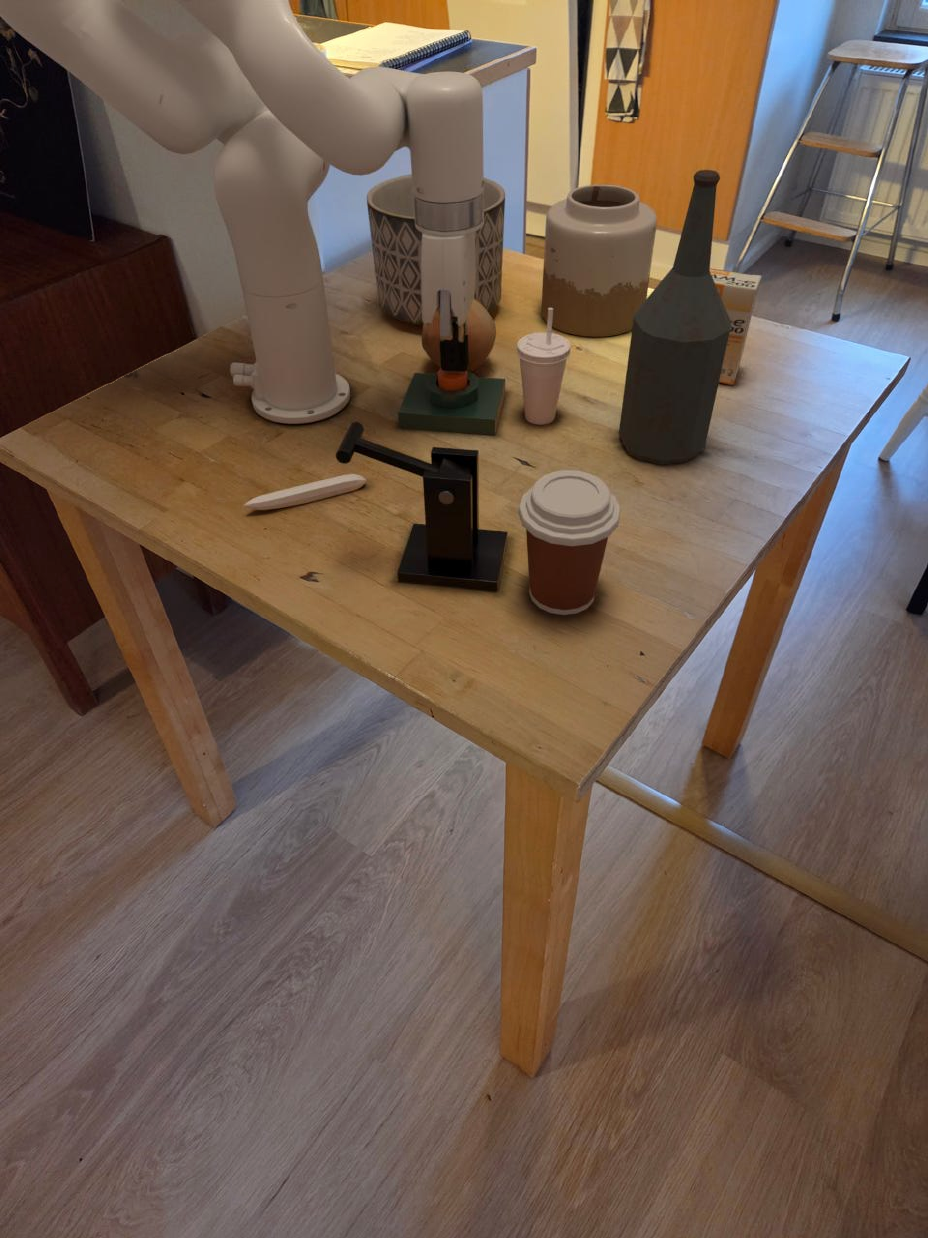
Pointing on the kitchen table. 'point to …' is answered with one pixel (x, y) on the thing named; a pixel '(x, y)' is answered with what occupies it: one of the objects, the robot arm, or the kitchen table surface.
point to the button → (452, 380)
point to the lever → (389, 454)
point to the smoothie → (542, 372)
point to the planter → (402, 245)
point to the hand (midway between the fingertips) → (454, 367)
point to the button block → (452, 405)
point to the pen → (307, 492)
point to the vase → (597, 260)
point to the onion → (478, 333)
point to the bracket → (453, 531)
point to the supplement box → (735, 315)
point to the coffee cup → (567, 538)
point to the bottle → (678, 346)
